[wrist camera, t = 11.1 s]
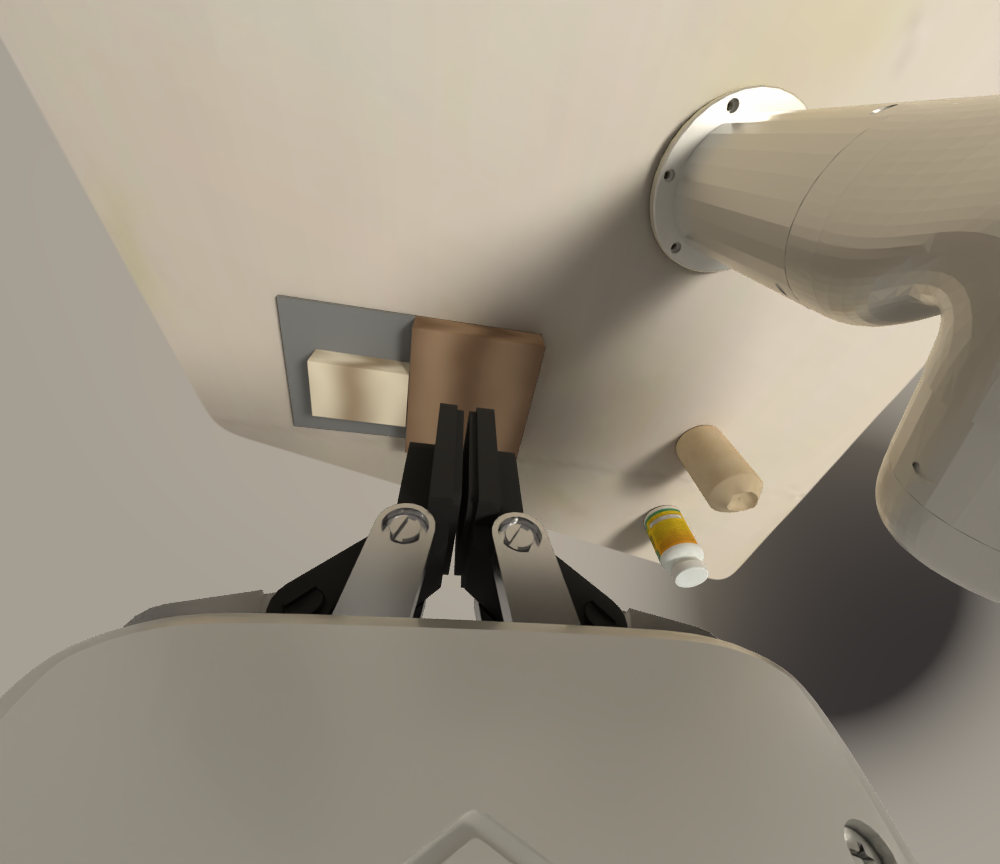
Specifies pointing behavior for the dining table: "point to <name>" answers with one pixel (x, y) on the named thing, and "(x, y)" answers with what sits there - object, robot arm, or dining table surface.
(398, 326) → the mat
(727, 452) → the candle
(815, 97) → the dining table surface
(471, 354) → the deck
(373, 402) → the tile
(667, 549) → the supplement bottle
